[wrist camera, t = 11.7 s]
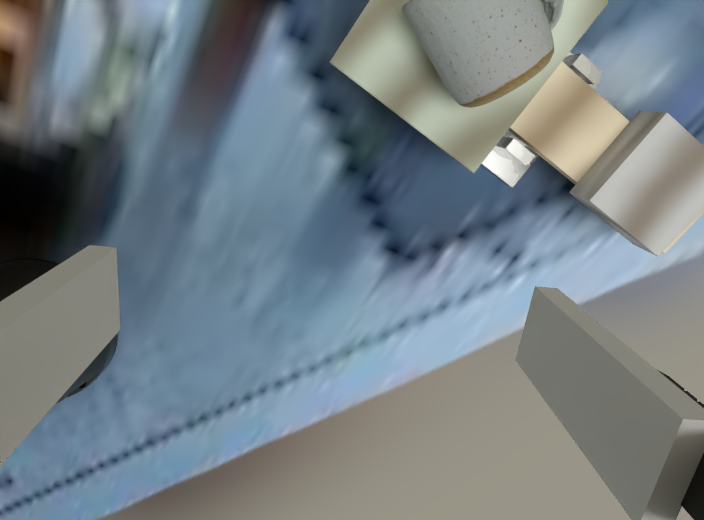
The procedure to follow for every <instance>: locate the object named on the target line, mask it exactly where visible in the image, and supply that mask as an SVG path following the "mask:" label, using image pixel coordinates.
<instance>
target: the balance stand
mask: <svg viewBox="0 0 704 520" xmlns="http://www.w3.org/2000/svg"><path fill="white" fill-rule="evenodd" d="M563 62H564V63H565V64H566V65H567V66H568V67H569V68H570V69H571V70H573V71H574V72H575V73H576V74H577V75H578V76H579V77H580V78H582V79H583V80H584V81H585V82H586V83H587V84H588V85H589V86H590V87H592V88H593V89H594V88H595V87H596V85H597V84H598V83H599V82H600V79H599V78H600V76H601V75H602V74H603V72H602V71H601V70H600V69H598V68H597V67H596V66H595V65H594V64H593V63H592V62H591V61H590V60H589V59H587V58H586V57H585V56H584V55H583V54H582V53H580V54H575V55H573V54H571V53H570V52H569V53H568V54H567V56H566V57H565V58H564V59H563ZM538 156H539V155H538V154H537V153H536V152H534V151H533V150H532V149H531V148H529V147H528V146H527V145H526V144H525V143H523V142H522V141H521V140H520V139H518V138H517V137H516V136H515V135H514V134H512V133H511V132H510V131H509V130H508V131H507V132H506V133H505V134H504V136H503V137H502V138H501V139H500V141H499V142H498V143H497V144H496V146H495V147H494V148H493V150H492V151H491V152H490V153H489V155H488V156H487V157H486V158H485V160H484V161H483V162H482V163H481V165H483V166H484V167H485V168H486V169H488V170H489V171H490V172H492V173H493V174H494V175H495V176H497V177H498V178H499V179H501V180H502V181H503V182H504V183H506V184H507V185H508V186H510V187H512V188H513V186H514V185H515V184H516V183H517V182H518V180H519V179H520V178H521V177H522V175H523V174H524V173H525V172H526V171H527V169H528V168H529V167H530V166H531V165H532V163H533V162H534V161H535V160H536V158H537V157H538Z"/></svg>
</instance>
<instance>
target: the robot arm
mask: <svg viewBox="0 0 704 520" xmlns="http://www.w3.org/2000/svg"><path fill="white" fill-rule="evenodd" d="M119 330H120V314H119V292H118V270H117V248H116V247H105V246H94V245H89V246H88V247H86V248H84V249H83V250H81V251H80V252H78V253H76V254H75V255H73V256H72V257H70V258H69V259H67V260H65V261H64V262H62V263H61V264H59V265H58V264H55V263H52V262H48V261H43V260H34V259H21V260H14V261H9V262H5V263H2V264H0V466H1V465H2V464H3V463H4V462H5V461H6V459H7V458H8V457H9V456H10V455H11V454H12V453H13V451H14V450H15V449H16V448H17V447H18V446H19V445H20V443H21V442H22V441H23V440H24V439H25V438H26V437H27V435H28V434H29V433H30V432H31V431H32V430H33V429H34V427H35V426H36V425H37V424H38V423H39V422H40V421H41V420H42V418H43V417H44V416H45V415H46V414H47V413H48V412H49V410H50V409H51V408H52V407H53V406H54V405H55V404H56V403H58V402H60V401H62V400H63V399H65V398H66V397H68V396H71V395H73V394H76V393H77V392H79V391H81V390H83V389H84V388H86V387H87V386H89V385H90V384H91V383H92V382H93V381H95V380H96V378H97V377H98V376H99V375H100V374H101V373H102V371H103V370H104V369H105V368H106V367H107V365H108V364H109V362H110V361H111V359H112V357H113V355H114V352H115V349H116V345H117V333H118V332H119ZM516 361H517V363H518V364H519V366H520V367H521V368H522V370H523V371H524V372H525V374H526V375H527V376H528V378H529V379H530V381H531V382H532V383H533V385H534V386H535V387H536V389H537V390H538V392H539V393H540V394H541V396H542V397H543V399H544V400H545V401H546V403H547V404H548V405H549V407H550V408H551V410H552V411H553V412H554V414H555V415H556V416H557V418H558V419H559V421H560V422H561V423H562V425H563V426H564V427H565V429H566V430H567V432H568V433H569V434H570V436H571V437H572V438H573V440H574V441H575V443H576V444H577V445H578V447H579V448H580V449H581V451H582V452H583V454H584V455H585V456H586V458H587V459H588V460H589V462H590V463H591V465H592V466H593V467H594V469H595V470H596V471H597V473H598V474H599V475H600V477H601V478H602V480H603V481H604V482H605V484H606V485H607V486H608V488H609V489H610V491H611V492H612V493H613V495H614V496H615V498H616V499H617V500H618V502H619V503H620V504H621V506H622V507H623V508H624V510H625V511H626V513H627V514H628V515H629V517H630V518H631V519H632V520H676V518H677V516H678V513H679V511H680V509H681V507H682V506H683V508H684V509H685V510H686V511H687V512H688V513H689V514H690V516H691V517H692V518H693V519H694V520H704V404H702V403H701V402H697V399H696V398H695V397H694V396H693V395H691V394H690V393H689V392H688V391H684V388H682V387H681V386H680V385H679V384H678V383H676V382H675V381H674V380H673V379H671V378H670V377H669V376H667V375H666V374H664V373H662V372H660V371H658V370H657V369H655V368H654V367H653V366H651V365H650V364H649V363H648V362H647V361H645V360H644V359H643V358H642V357H640V356H639V355H638V354H637V353H636V352H634V351H633V350H632V349H631V348H629V347H628V346H627V345H626V344H625V343H623V342H622V341H621V340H620V339H618V338H617V337H616V336H615V335H614V334H612V333H611V332H610V331H609V330H608V329H606V328H605V327H604V326H603V325H601V324H600V323H599V322H598V321H596V320H595V319H594V318H593V317H592V316H590V315H589V314H588V313H587V312H585V311H584V310H583V309H582V308H581V307H579V306H578V305H577V304H576V303H575V302H573V301H572V300H571V299H570V298H568V297H567V296H566V295H565V294H564V293H562V292H561V291H560V290H559V289H558V288H547V287H536V286H535V289H534V292H533V296H532V300H531V304H530V307H529V311H528V315H527V319H526V322H525V326H524V330H523V334H522V338H521V341H520V345H519V349H518V353H517V356H516Z"/></svg>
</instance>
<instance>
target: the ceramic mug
mask: <svg viewBox="0 0 704 520" xmlns="http://www.w3.org/2000/svg"><path fill="white" fill-rule="evenodd" d="M544 2H545V12H544V9H543V7H542V5H541V3H540V0H410V1H408V2H407V3H406V4H404V5H403V7H402V11H403V13H404V15H405V17H406V19H407V20H408V22H409V24H410V26H411V27H412V29H413V31H414V32H415V34H416V36H417V38H418V40H419V41H420V43H421V45H422V47H423V48H424V50H425V52H426V54H427V56H428V57H429V59H430V60H431V62H432V64H433V66H434V67H435V69H436V71H437V73H438V75H439V76H440V78H441V80H442V82H443V84H444V86H445V87H446V89H447V91H448V92H449V93H450V94H451V96H452V97H453V98H454V99H455V101H456V102H457V103H458V104H459V105H461V106H464V107H470V108H472V107H478V106H481V105H484V104H487V103H489V102H492V101H494V100H496V99H498V98H500V97H502V96H504V95H506V94H508V93H510V92H511V91H513V90H515V89H516V88H518V87H520V86H521V85H523V84H524V83H526V82H527V81H529V80H530V79H531V78H533V77H534V76H535V75H536V74H538V73H539V72H540V71H541V70H543V69H544V68H545V66H546V65H547V64H548V63H549V62H550V60H551V58H552V55H553V53H554V41H553V37H552V32H551V30H552V29H553V28H554V27H555V26H556V24H557V22H558V20H559V19H560V17H561V14H562V9H563V3H564V0H544Z"/></svg>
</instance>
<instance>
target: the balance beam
mask: <svg viewBox="0 0 704 520" xmlns="http://www.w3.org/2000/svg"><path fill="white" fill-rule="evenodd" d="M408 1H410V0H370V1H369V2H368V4H367V5H366V7H365V8H364V10H363V11H362V13H361V15H360V16H359V18H358V19H357V21H356V22H355V24H354V25H353V27H352V28H351V30H350V32H349V33H348V35H347V36H346V38H345V39H344V41H343V42H342V44H341V45H340V47H339V48H338V50H337V52H336V53H335V55H334V56H333V58H332V59H331V61H330V64H332V65H333V66H334V67H336V68H337V69H338V70H340V71H341V72H342V73H343V74H345V75H346V76H347V77H349V78H350V79H351V80H353V81H354V82H355V83H356V84H358V85H359V86H360V87H362V88H363V89H364V90H366V91H367V92H368V93H369V94H371V95H372V96H373V97H375V98H376V99H377V100H378V101H380V102H381V103H382V104H384V105H385V106H386V107H388V108H389V109H390V110H391V111H393V112H394V113H395V114H397V115H398V116H399V117H401V118H402V119H403V120H404V121H406V122H407V123H408V124H410V125H411V126H412V127H414V128H415V129H416V130H417V131H419V132H420V133H421V134H423V135H424V136H425V137H426V138H428V139H429V140H430V141H432V142H433V143H434V144H436V145H437V146H438V147H439V148H441V149H442V150H443V151H445V152H446V153H447V154H449V155H450V156H451V157H452V158H454V159H455V160H456V161H458V162H459V163H460V164H462V165H463V166H464V167H465V168H467V169H468V170H469V171H471V172H473V173H474V172H475V171H476V170H477V169H478V167H479V166H480V165H481V163H482V162H483V161H484V160H485V158H486V157H487V156H488V155H489V153H490V152H491V151H492V150H493V148H494V147H495V146H496V144H497V143H498V142H499V141H500V139H501V138H502V137H503V136H504V134H505V133H506V132H507V131H508V130H509V131H510V132H511V133H512V134H514V135H515V136H516V137H517V138H518V139H520V140H521V141H522V142H523V143H525V144H526V145H527V146H528V147H529V148H531V149H532V150H533V151H534V152H536V153H537V154H538V155H539V156H540V157H542V158H543V159H544V160H545V161H547V162H548V163H549V164H550V165H551V166H553V167H554V168H555V169H556V170H558V171H559V172H560V173H561V174H562V175H564V176H565V177H566V178H567V179H569V180H570V181H571V182H572V183H573V184H575V186H574V187H573V188H572V189H571V191H570V192H569V193H570V194H572V195H573V196H574V197H575V198H577V199H578V200H579V201H580V202H582V203H583V204H584V205H585V206H586V207H588V208H589V209H590V210H591V211H593V212H594V213H595V214H596V215H598V216H599V217H600V218H601V219H603V220H604V221H605V222H606V223H607V224H609V225H610V226H611V227H612V228H614V229H615V230H616V231H617V232H619V233H620V234H621V235H622V236H624V237H625V238H626V239H627V240H628V241H630V242H631V243H632V244H634V245H636V246H638V247H640V248H642V249H644V250H646V251H648V252H650V253H652V254H654V255H656V256H659V255H660V254H661V253H663V254H665V253H666V251H667V250H668V249H669V248H670V247H671V246H672V245H673V244H674V243H675V242H676V241H677V240H678V239H679V238H680V237H681V236H682V235H683V234H684V233H685V232H686V231H687V230H688V229H689V228H690V226H691V225H692V224H693V223H694V222H695V221H696V220H697V219H698V218H699V217H700V216H701V215H702V214H703V213H704V146H703V145H702V144H700V143H699V142H698V141H697V140H696V139H695V138H694V137H693V136H692V135H691V134H690V133H689V132H687V131H686V130H685V129H684V128H683V127H682V126H681V125H680V124H679V123H678V122H677V121H676V120H675V119H673V118H672V117H671V116H670V115H669V114H668V113H666V112H647V111H639V112H638V113H637V114H636V115H635V116H634V117H633V119H632V120H631V121H628V120H627V119H626V118H625V117H624V116H623V115H622V114H621V113H619V112H618V111H617V110H616V109H615V108H614V107H613V106H612V105H611V104H609V103H608V102H607V101H606V100H605V99H604V98H603V97H602V96H600V95H599V94H598V93H597V92H596V91H595V90H594V89H593V88H592V87H590V86H589V85H588V84H587V83H586V82H585V81H584V80H583V79H582V78H580V77H579V76H578V75H577V74H576V73H575V72H574V71H573V70H571V69H570V68H569V67H568V66H567V65H566V64H565V63H564V62H563V59H564V58H565V57H566V56H567V54H568V53H569V52H570V51H571V49H572V48H573V47H574V45H575V44H576V43H577V42H578V40H579V39H580V38H581V37H582V35H583V34H584V33H585V32H586V30H587V29H588V28H589V26H590V25H591V24H592V23H593V21H594V20H595V19H596V18H597V16H598V15H599V14H600V12H601V11H602V10H603V9H604V7H605V6H606V5H607V4H608V1H607V0H564V3H563V9H562V14H561V17H560V19H559V20H558V22H557V24H556V26H555V27H554V28H553V29H552V30H551V32H552V37H553V41H554V53H553V55H552V58H551V60H550V62H549V63H548V64H547V65H546V66H545V68H544V69H543V70H541V71H540V72H539V73H538V74H536V75H535V76H534V77H533V78H531V79H530V80H529V81H527V82H526V83H524V84H523V85H521V86H520V87H518V88H516V89H515V90H513V91H511V92H510V93H508V94H506V95H504V96H502V97H500V98H498V99H496V100H494V101H492V102H489V103H487V104H484V105H481V106H478V107H472V108H470V107H464V106H461V105H459V104H458V103H457V102H456V101H455V99H454V98H453V97H452V96H451V94H450V93H449V92H448V91H447V89H446V87H445V86H444V84H443V82H442V80H441V78H440V76H439V75H438V73H437V71H436V69H435V67H434V66H433V64H432V62H431V60H430V59H429V57H428V56H427V54H426V52H425V50H424V48H423V47H422V45H421V43H420V41H419V40H418V38H417V36H416V34H415V32H414V31H413V29H412V27H411V26H410V24H409V22H408V20H407V19H406V17H405V15H404V13H403V11H402V7H403V5H404V4H406V3H407V2H408ZM540 3H541V5H542V7H543V9H544V12H545V2H544V0H540Z"/></svg>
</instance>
